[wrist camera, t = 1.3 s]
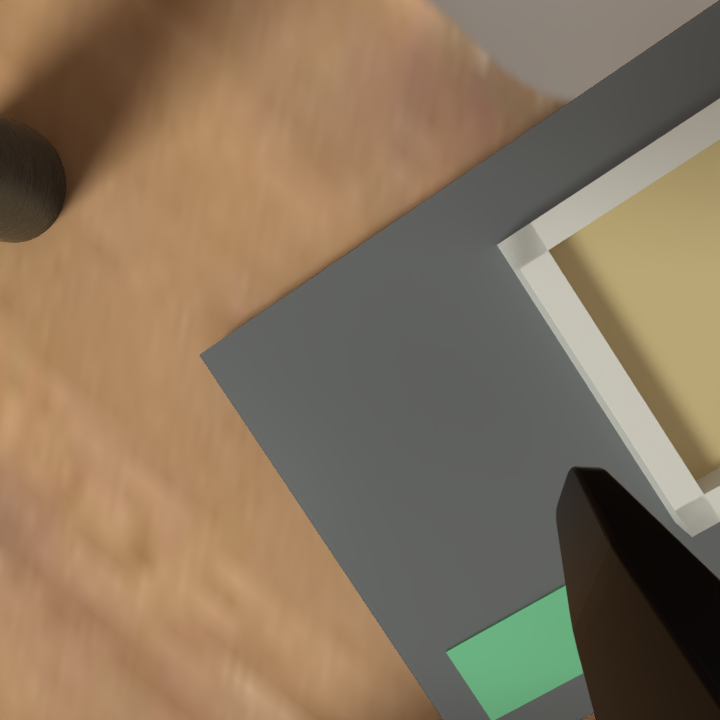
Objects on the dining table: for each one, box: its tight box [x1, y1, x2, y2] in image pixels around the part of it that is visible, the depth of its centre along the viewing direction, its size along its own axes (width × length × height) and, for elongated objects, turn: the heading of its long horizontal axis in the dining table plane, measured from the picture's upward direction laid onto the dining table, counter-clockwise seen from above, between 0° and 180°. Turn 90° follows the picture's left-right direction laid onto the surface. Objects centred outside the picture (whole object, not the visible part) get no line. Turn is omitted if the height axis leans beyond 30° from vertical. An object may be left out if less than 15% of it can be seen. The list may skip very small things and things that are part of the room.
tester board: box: [200, 0, 720, 720], centre depth 19 cm, size 24×18×3 cm
